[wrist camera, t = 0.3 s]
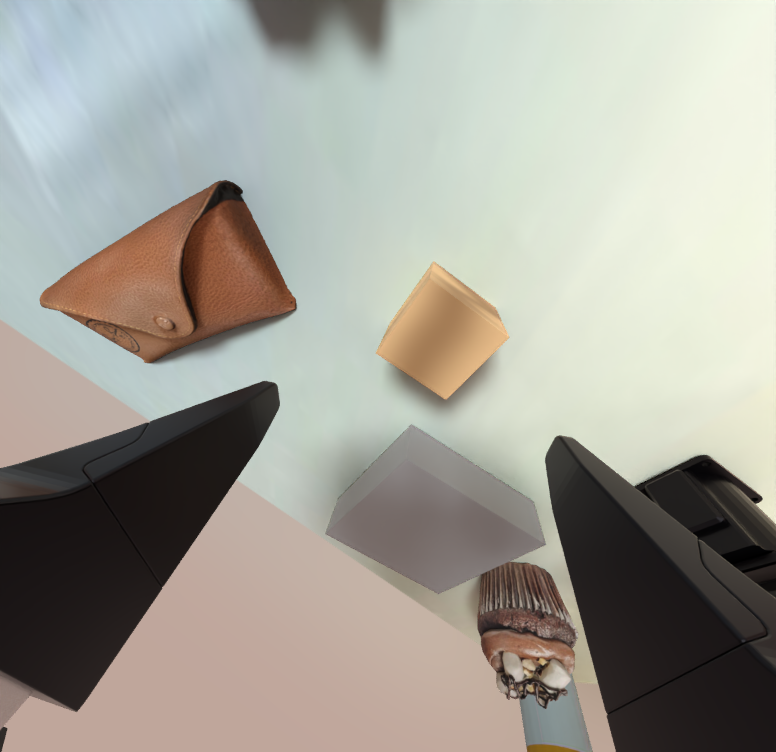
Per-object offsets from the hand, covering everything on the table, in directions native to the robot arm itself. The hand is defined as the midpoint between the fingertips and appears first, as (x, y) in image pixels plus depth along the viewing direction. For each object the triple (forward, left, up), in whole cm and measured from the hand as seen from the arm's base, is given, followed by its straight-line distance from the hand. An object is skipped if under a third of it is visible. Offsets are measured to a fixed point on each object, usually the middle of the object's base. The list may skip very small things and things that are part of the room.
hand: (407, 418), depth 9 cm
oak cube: (-1, 0, -12) cm, 12 cm away
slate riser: (-12, +16, -12) cm, 23 cm away
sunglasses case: (+16, +10, -13) cm, 23 cm away
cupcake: (-28, +20, -12) cm, 37 cm away
